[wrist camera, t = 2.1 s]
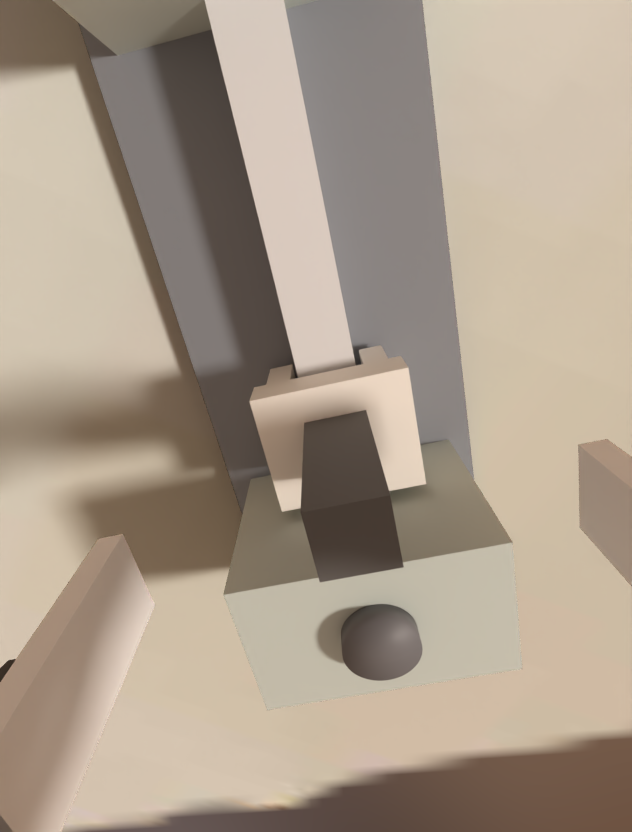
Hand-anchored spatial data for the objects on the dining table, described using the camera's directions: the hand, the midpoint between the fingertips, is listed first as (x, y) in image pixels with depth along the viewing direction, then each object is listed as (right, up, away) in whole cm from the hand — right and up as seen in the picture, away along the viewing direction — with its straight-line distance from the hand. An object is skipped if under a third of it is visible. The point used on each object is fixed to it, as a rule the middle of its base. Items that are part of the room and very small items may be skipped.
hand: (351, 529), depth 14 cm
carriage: (0, +4, +8) cm, 9 cm away
